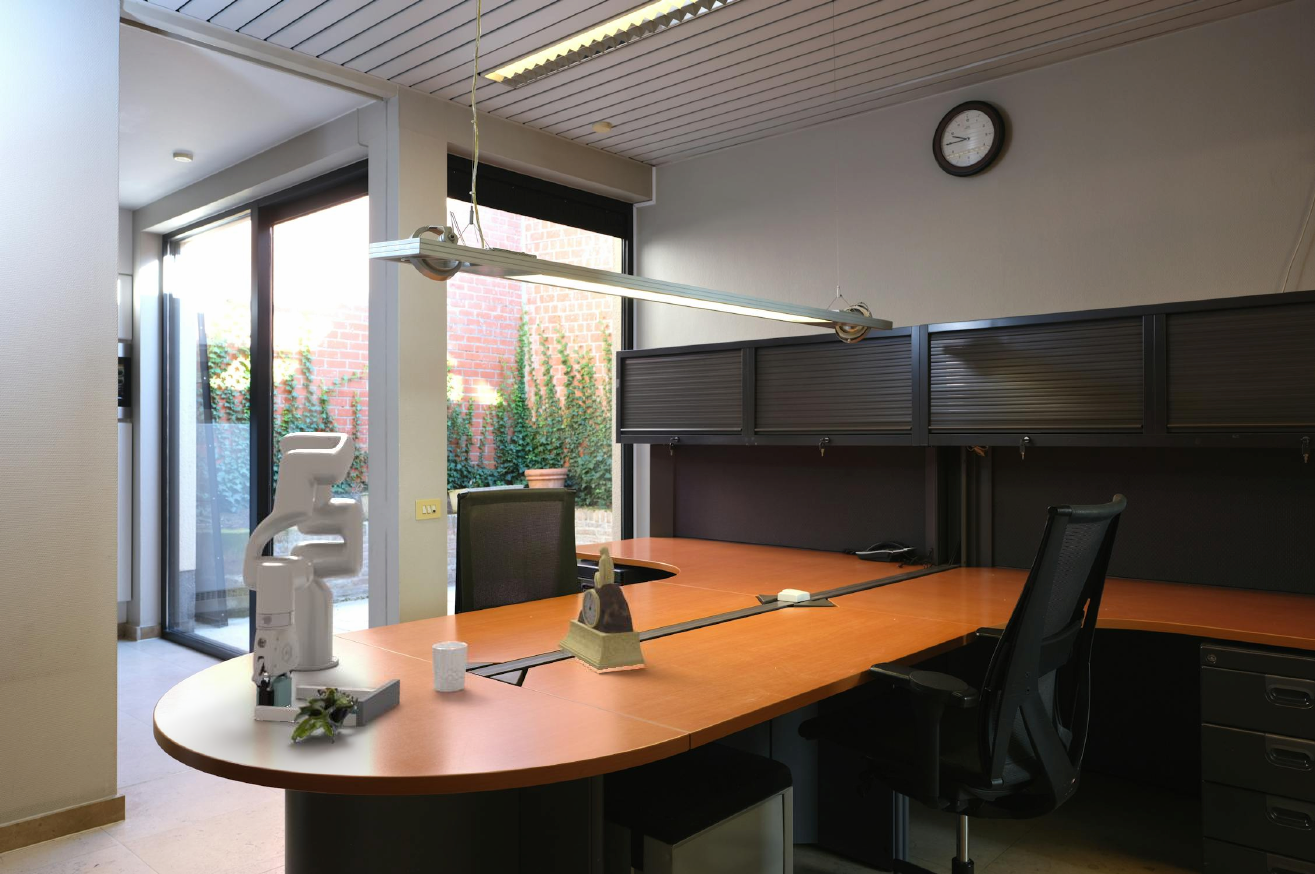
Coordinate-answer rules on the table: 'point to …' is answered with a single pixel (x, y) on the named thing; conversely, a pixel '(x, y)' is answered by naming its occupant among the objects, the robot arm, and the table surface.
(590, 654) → the decorative clock
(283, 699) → the block
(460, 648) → the white cup
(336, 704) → the passion flower
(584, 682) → the table surface
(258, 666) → the robot arm
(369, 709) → the guide channel
